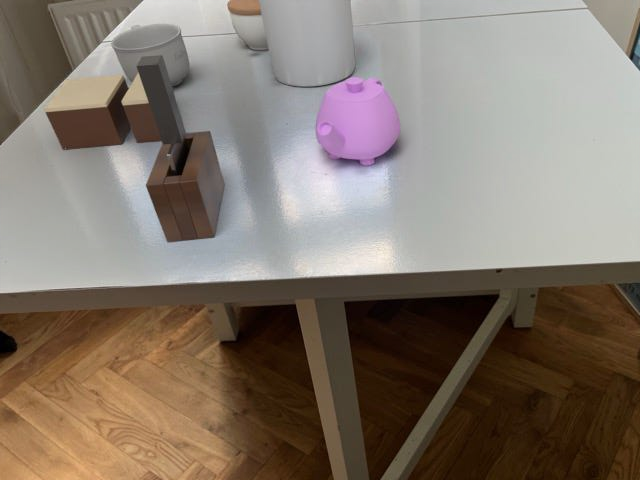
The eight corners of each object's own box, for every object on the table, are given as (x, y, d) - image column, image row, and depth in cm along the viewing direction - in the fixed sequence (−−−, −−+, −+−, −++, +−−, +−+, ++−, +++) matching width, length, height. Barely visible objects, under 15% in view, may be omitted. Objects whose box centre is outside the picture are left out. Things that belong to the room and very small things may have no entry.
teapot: (416, 135, 75) (416, 65, 69) (365, 190, 65) (359, 114, 59) (349, 123, 78) (343, 55, 72) (291, 173, 69) (278, 100, 62)
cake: (62, 149, 76) (43, 108, 72) (83, 118, 84) (67, 79, 80) (121, 144, 77) (105, 102, 73) (137, 113, 84) (123, 74, 80)
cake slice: (136, 143, 77) (121, 101, 73) (151, 112, 84) (137, 73, 80) (165, 140, 77) (151, 98, 73) (177, 110, 84) (165, 70, 80)
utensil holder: (254, 85, 90) (229, -36, 79) (292, 53, 101) (275, -58, 89) (338, 92, 87) (326, -34, 75) (368, 58, 97) (361, -57, 85)
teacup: (198, 89, 90) (184, 37, 85) (128, 102, 88) (110, 49, 82) (188, 61, 100) (174, 14, 95) (125, 72, 97) (108, 24, 92)
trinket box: (242, 58, 100) (230, 2, 94) (231, 41, 108) (220, -13, 101) (299, 48, 103) (291, -8, 96) (285, 32, 110) (277, -21, 104)
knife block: (214, 237, 59) (196, 180, 55) (167, 242, 59) (145, 185, 54) (224, 184, 67) (210, 130, 63) (183, 188, 67) (165, 134, 62)
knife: (202, 228, 61) (152, 72, 49) (184, 230, 61) (130, 74, 49) (210, 194, 66) (166, 46, 55) (193, 195, 66) (146, 48, 54)
